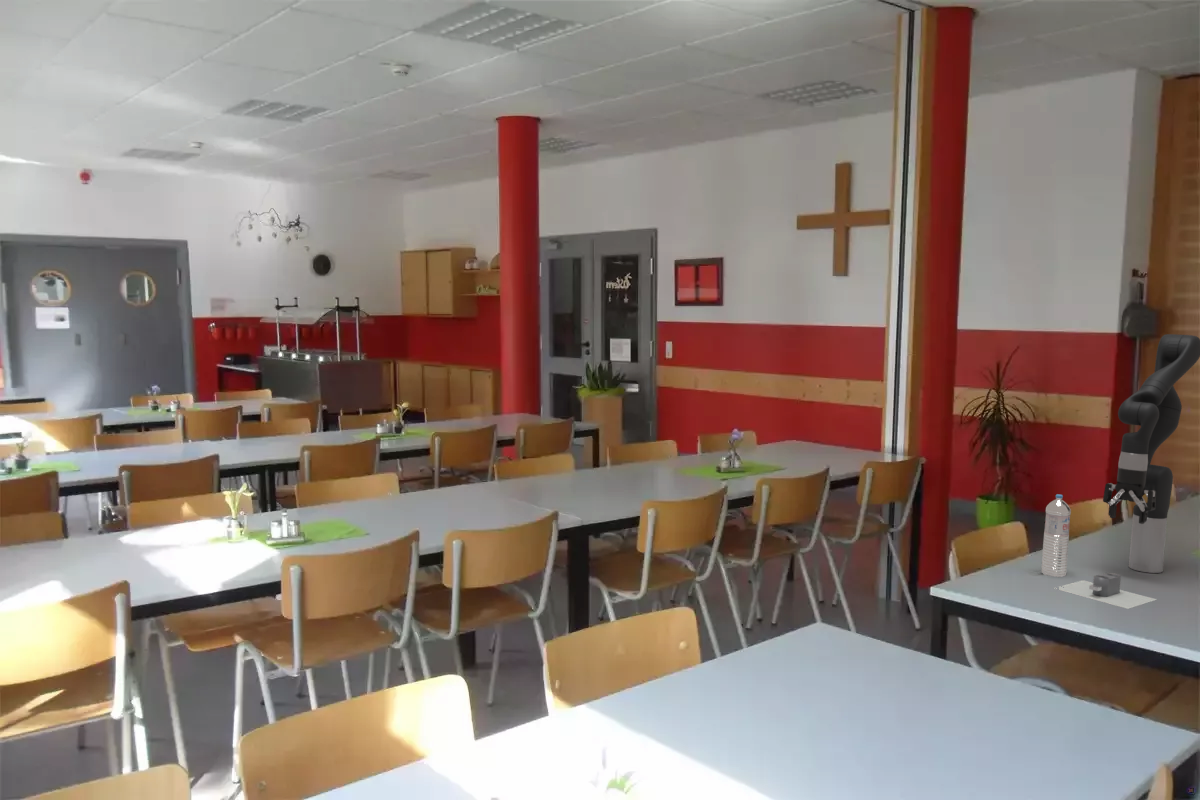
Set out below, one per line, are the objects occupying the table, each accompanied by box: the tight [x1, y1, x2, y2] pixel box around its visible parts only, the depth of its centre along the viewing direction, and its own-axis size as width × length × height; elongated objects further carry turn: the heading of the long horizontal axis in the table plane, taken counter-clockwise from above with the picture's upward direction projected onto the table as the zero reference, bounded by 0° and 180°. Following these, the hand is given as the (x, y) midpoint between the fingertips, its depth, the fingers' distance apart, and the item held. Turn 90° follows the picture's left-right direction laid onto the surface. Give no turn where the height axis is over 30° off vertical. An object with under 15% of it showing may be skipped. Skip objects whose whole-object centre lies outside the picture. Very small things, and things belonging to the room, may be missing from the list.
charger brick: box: [1089, 572, 1122, 597], centre depth 261 cm, size 12×4×5 cm, turn 124°
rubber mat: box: [1053, 579, 1157, 610], centre depth 261 cm, size 16×21×1 cm
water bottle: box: [1041, 493, 1072, 578], centre depth 279 cm, size 7×7×25 cm
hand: (1126, 520), depth 279 cm, fingers open, 8 cm apart
